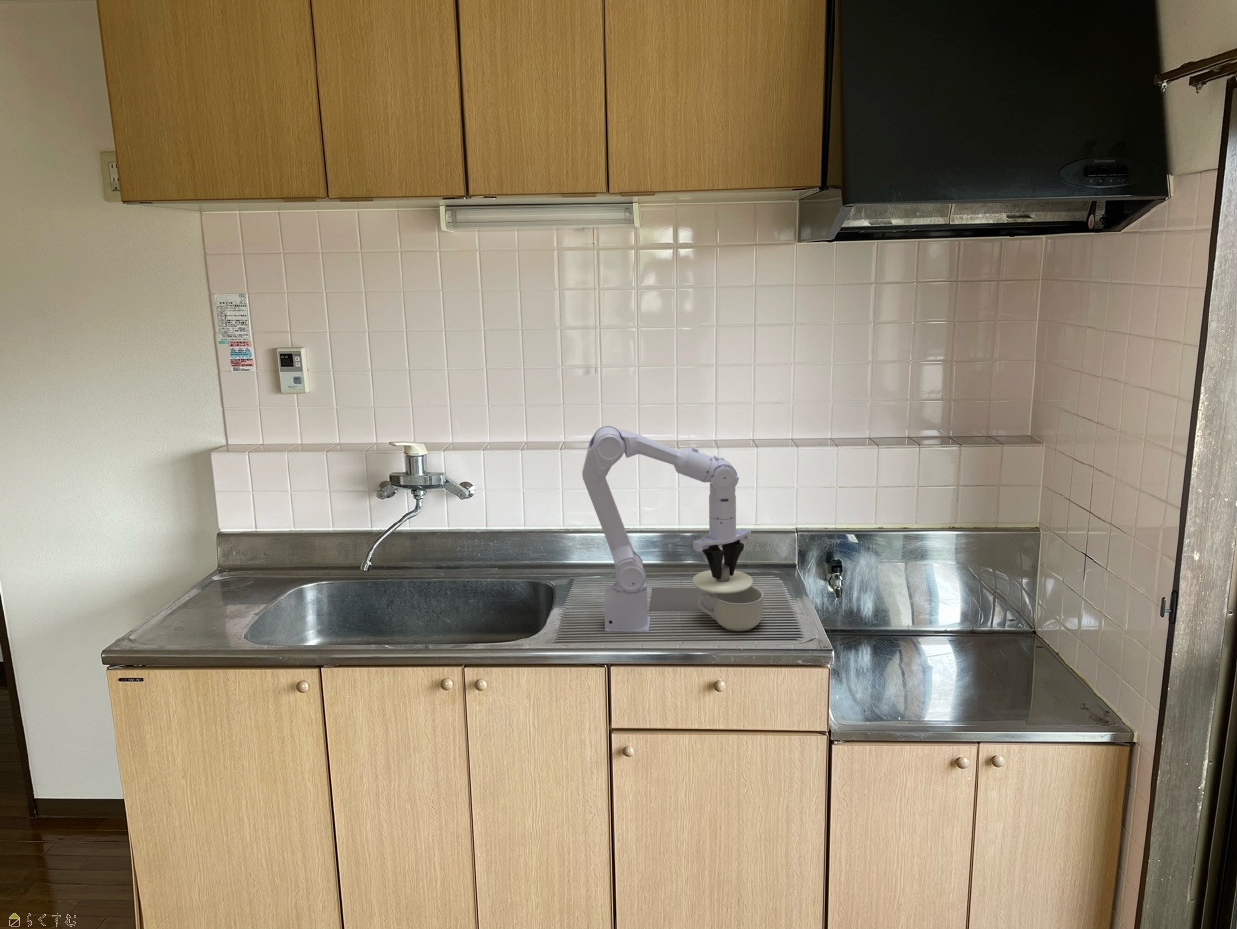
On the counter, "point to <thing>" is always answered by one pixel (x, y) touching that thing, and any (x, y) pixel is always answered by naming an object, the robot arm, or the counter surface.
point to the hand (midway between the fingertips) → (722, 576)
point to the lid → (723, 581)
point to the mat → (678, 599)
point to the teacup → (735, 608)
